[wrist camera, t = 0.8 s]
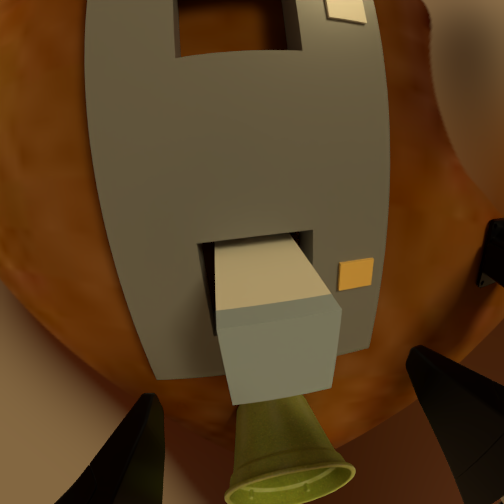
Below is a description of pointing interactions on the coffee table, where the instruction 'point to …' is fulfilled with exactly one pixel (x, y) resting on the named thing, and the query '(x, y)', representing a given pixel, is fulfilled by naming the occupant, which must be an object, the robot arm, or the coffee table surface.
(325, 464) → the plant pot
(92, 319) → the coffee table surface
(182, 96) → the panel board
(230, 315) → the plug
